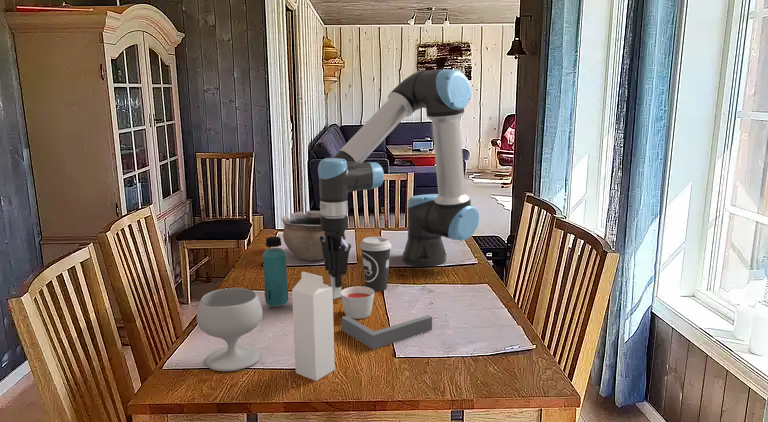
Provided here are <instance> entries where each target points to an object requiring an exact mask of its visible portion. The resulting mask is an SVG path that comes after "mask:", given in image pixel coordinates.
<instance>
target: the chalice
mask: <svg viewBox="0 0 768 422" xmlns="http://www.w3.org/2000/svg"><path fill="white" fill-rule="evenodd" d="M262 318H263V308H262V304H261V300H260V298H259V296H258V295H257V293H256V292H255V291H254V290H252V289H248V288H246V287H245V288H244V287H228V288H220V289H216V290H213V291H210V292H207V293H206V294H205V295H202V298H201V299H200V301H199V303H198V307H197V312H196V323H197V326H198V327H199V328H200V330H201V331H202V332H203V333H204V334H206V335H208V336H210V337H211V336H212V337H213V338H218V339H222V340H224V342H226V344H227V346H226V347H222V348H219V349H216V350H215V351H213V352H211V353H210V354H209V355H207V357H205V359H204V364H205V366H206V367H207V368H208V369H210V370H213V371H219V372H234V371H235V372H236V371H240V370H244V369H247V368H249V367H252V366H253V365H255V364H256V363H258V361H259V360H260V358H261V352H260V351H259V350H258V349H257V348H254V347H251V346H248V345H247V346H246V345H237V344H238V343H237V342H238V340H239V339H240V338H241V337H243V336H245V335H247V334H248V333H251V332H252V331H253V330H255V328H257V327H258V325H259V324H260V323H261V321H262Z"/></svg>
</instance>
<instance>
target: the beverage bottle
mask: <svg viewBox="0 0 768 422" xmlns="http://www.w3.org/2000/svg"><path fill="white" fill-rule="evenodd" d="M265 246H266V247H267V249H266V250H265V251H264V252H263V253H262V260H263V278H264V279H263V281H264V291H263V292H264V298H265V304H266V305H267V306H270V307H271V306H272V307H273V306H274V307H278V306H279V307H280V306H283V305H286V304H287V303H288V302H289V291H288V290H289V286H288V284H289V283H288V274H287V259H286V258H287V257H286V256H287V253H286V251H285V250H283V248H280V247H281V246H282V239H281V237H280V236H268V237H266V239H265Z"/></svg>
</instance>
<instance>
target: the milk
mask: <svg viewBox="0 0 768 422" xmlns="http://www.w3.org/2000/svg"><path fill="white" fill-rule="evenodd" d="M300 274H301V279H299V281H298V282H297V283H296V284H295V285H294V287H293V288H292V289H291V292H292V293H291V294H292V299H291V300H292V318H293V337H294V339H293V340H294V342H293V343H294V361H295V362H294V365H295V374H297V375H300V376H302V377H304V378H307V379H308V380H309V379H310V380H312V381H315V382H317V381H319V380H320V379H322V378H324V377H326V376H327V375H329V374H330V373H332V372H334V371H335V368H336V367H335V339H334V338H335V336H334V335H335V331H334V330H335V329H334V328H335V327H334V304H333V303H334V299H333V292H332V287H331V285H327V284H326V283H324V281H323V279H324V278H323V276H322V275H318V274H313V273H310V272H307V271H301V273H300Z"/></svg>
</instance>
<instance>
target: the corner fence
mask: <svg viewBox="0 0 768 422" xmlns="http://www.w3.org/2000/svg"><path fill="white" fill-rule="evenodd" d="M430 330H431V331H432V330H433V317H432V316H430V315H429V314H426V315H423V316H420V317H417V318H415V319H411V320H407V321H405V322H404V321H403V322H401V323H399V324H395V325H391V326H387V327H385V328H382V329H378V330H373V329H371V328H370V327H367V326H366V325H364V324H362V323H361V322H359V321H357V320H356V319H352V318H350V317H348V316H346V315H345V316H342V317H341V331H342V332H344V333H345V334H347V335H349V336H350V337H352V338H354V339H355V340H357V341H358V342H360V343H362V345H364V346H366V347H368V348H370V349H371V350H376V349H379V348H381V347H385V346H389V345H391V344H395V343H397V341H398V342H400V341H399V340H401V341H403V340H402V339H404V340H406V339H405V338H407V339H409V337H410V338H412V336H413V337H416V336H418V334H419V335H421V333H422V334H425V333H427V331H428V332H431V331H430ZM424 332H425V333H424ZM415 335H416V336H415ZM394 342H395V343H394Z"/></svg>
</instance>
